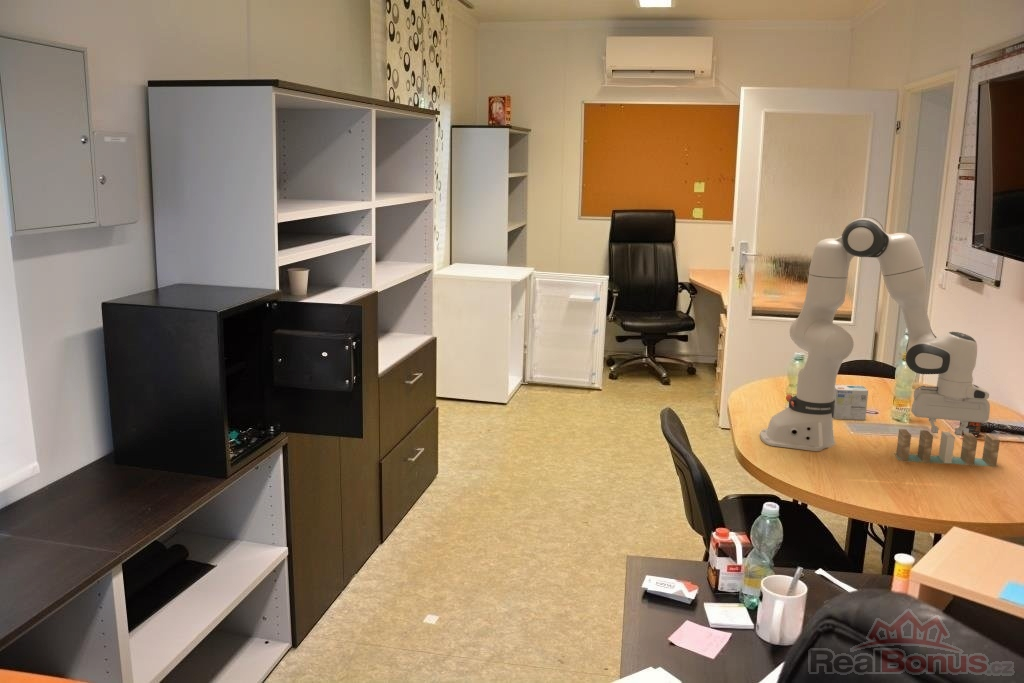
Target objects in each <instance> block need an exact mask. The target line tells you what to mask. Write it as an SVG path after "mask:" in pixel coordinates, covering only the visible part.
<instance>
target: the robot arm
mask: <svg viewBox="0 0 1024 683" xmlns="http://www.w3.org/2000/svg"><path fill="white" fill-rule="evenodd" d="M918 246H919V245H917V242H916V240H915V238H914V237H913V236H912V235H911V234H909V233H906V232H894V233H887V232H886V231H884V228H883V225H882V224H881V223H880V221H878V220H877V219H875V218H874V217H871V216H861V217H857V218H855V219H853V220H851V221H850V222H849V223H847V225H846V226H845V228H844V230H843V232H842V233H841V235H840V236H839V237H835V238H834V237H833V238H832V237H829V238H824V239H821V240H819V241H818V242H817V243H816V244H815V247H814V250H813V253H812V255H811V259H810V264H809V268H808V269H809V271H808V278H807V285H806V292H805V299H804V302H803V305H802V308H801V311H800V313H799V315H798V317H797V318H796V319H794V320H793V321H792V323H791V325H790V328H789V336H790V339H791V340H792V341H793V343H794V344H795V345H796V346H797V347H798V348H800V349H801V350H803V351H806V352H807V359H806V362H805V364H804V367H803V368H801V369H800V370H799V371H798V374H797V384H796V394H795V395H794V396H792V394H787V395H786V396H785V399H786V402H788V406H787V408H784V409H783V410H781V411H779V412H778V413H776V414H774V415H773V416H772V417H771V418H770V420H769V423H768V426H767V428H762V430H760V434H759V437H760V440H761V441H762V442H763V443H764V444H765V445H768V446H770V447H771V446H772V447H778V448H779V447H780V448H788V449H794V450H795V449H796V450H805V451H813V452H821V451H823V450H824V449H828V448H832V447H834V446H835V445H836V441H835V436H834V423H833V422H834V420H833V419H834V418H833V417H834V412H835V400H834V392H835V385H837V384H836V382H837V376H838V373H839V370H840V368H841V365H842V363H843V361H844V360H845V359H848V357H850V355H851V353H852V352H853V350H854V345H855V344H854V343H855V342H854V339H853V337H852V335H851V334H850V333H849V332H848V330H846V329H845V328H843V326H841V325H838V324H837V323H834V318H835V316H836V314H837V311H838V309H839V308H840V307H841V306H843V304H844V303H845V302H846V293H847V292H846V291H847V285H848V278H849V277H848V276H849V269H850V265H851V264H850V263H851V261H852V259H853V258H855V257H857V258H876V259H877V260H878V262H879V265H880V268H881V273H882V276H883V277H882V278H883V281H884V283H885V287H886V289H887V291H888V293H889V295H890V298H892V299H893V300H894V301H895V302H896V303H897V304H898V305H899V307H900V309H901V311H902V314H903V318H904V321H905V324H906V329H907V334H908V340H907V343H906V347H905V348H906V349H905V354H906V355H905V362H906V366H907V367H908V368H909V369H910V370H911V371H912V372H914V373H916V374H919V375H937V382H936V386H928V385H927V386H926V385H920V386H918V387H916V388H915V389H914V390H913V402H912V405H911V408H910V410H911V411H910V412H911V413H912V415H914V417H915V418H924V419H928V422H929V424H930V426H931V428H930V433H931V434H938V433H939V430H940V427H938V425H936V424H935V423H936V422H937V420H945V421H946V420H947V421H956V422H957V421H958V422H959V423H960V422H961V423H962V424H961V425H960V424H959V426H958V427H955V428H954V435H955V436H963V435H962V431H963V430H964V429H965V428H966V426H967V425H968V422H979V423H981V424H985V423H986V422H988V421H989V419H990V413H991V412H990V411H991V409H990V408H991V406H990V401H988V399H989V397H990V393H989V392H988V391H987V390H986V389H984V388H983V387H981V386H978V385H976V384H973V382H974V378H973V372H974V369H975V368H976V364H977V357H978V344H977V343H978V342H977V341H976V340H975V339H974V337H972V336H970V335H969V334H966V333H962V332H958V331H949V332H948V333H946V334H943V335H941V336H938V337H937V336H936V335H935V334H934V332H933V330H932V327H931V323H930V320H929V315H928V311H927V307H926V295H927V288H928V287H927V284H928V283H927V272H926V268H925V265H924V260H923V258H922V254H921V251H920V249H919V247H918Z"/></svg>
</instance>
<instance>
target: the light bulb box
mask: <svg viewBox="0 0 1024 683" xmlns="http://www.w3.org/2000/svg"><path fill="white" fill-rule="evenodd" d="M868 396H869V389H868V388H866V387H865V386H863V385H861V384H859V385H851V384H835V392H834V400H835V412H834V417H833V419H834V420H855V421H856V420H857V421H866V419H867V418H866V417H867V408H868V407H867V406H868Z"/></svg>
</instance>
